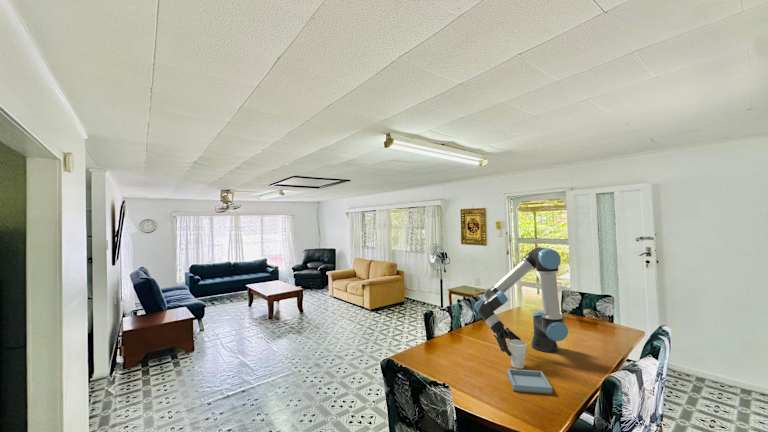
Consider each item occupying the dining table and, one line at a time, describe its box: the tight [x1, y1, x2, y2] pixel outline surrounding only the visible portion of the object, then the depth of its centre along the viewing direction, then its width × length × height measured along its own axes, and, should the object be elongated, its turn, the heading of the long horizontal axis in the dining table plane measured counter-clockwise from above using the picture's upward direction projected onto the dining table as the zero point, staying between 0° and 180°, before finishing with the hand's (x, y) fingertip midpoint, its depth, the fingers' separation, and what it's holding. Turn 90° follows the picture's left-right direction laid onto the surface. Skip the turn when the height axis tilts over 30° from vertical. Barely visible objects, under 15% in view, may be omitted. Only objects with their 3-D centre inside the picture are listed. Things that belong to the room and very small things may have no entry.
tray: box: [506, 368, 554, 395], centre depth 155 cm, size 17×17×3 cm
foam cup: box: [507, 339, 527, 369], centre depth 174 cm, size 10×9×13 cm
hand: (521, 357), depth 173 cm, fingers open, 13 cm apart
